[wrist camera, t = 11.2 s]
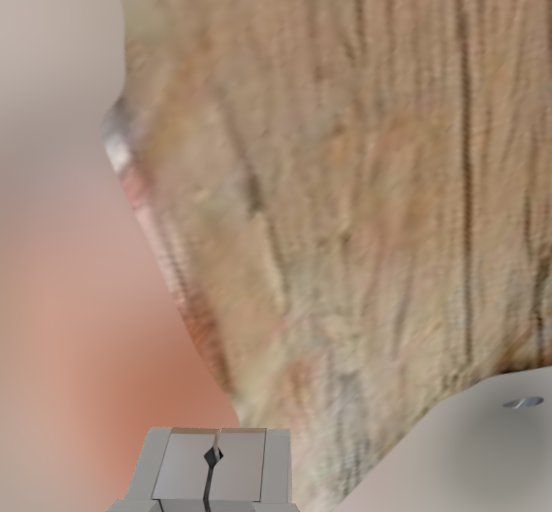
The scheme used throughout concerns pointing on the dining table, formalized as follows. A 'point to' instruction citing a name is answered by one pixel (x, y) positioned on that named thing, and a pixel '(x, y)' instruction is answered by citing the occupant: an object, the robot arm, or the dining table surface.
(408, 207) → the dining table surface
